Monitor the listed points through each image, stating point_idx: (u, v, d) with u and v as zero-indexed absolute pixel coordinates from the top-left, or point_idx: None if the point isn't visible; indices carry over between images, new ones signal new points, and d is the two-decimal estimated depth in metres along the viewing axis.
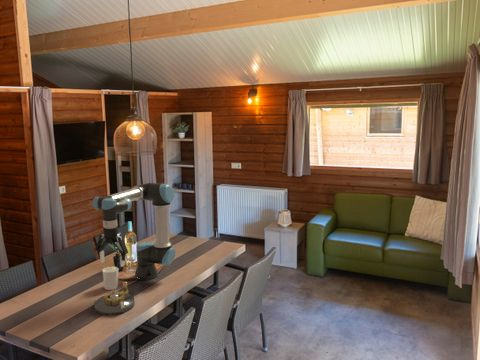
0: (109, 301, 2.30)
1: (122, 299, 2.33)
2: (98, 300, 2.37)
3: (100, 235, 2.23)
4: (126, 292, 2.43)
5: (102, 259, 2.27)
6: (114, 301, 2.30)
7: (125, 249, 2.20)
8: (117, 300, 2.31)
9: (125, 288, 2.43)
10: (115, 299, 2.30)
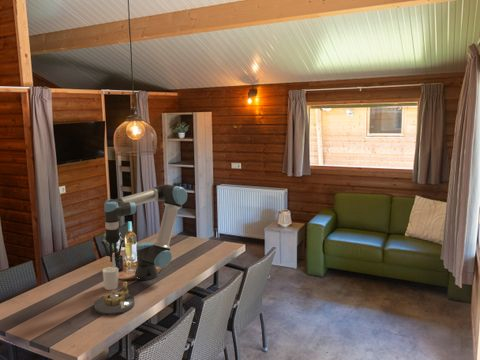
0: (109, 301, 2.30)
1: (122, 299, 2.33)
2: (98, 300, 2.37)
3: (102, 241, 2.37)
4: (126, 292, 2.43)
5: None
6: (114, 301, 2.30)
7: (120, 251, 2.41)
8: (117, 300, 2.31)
9: (125, 288, 2.43)
10: (115, 299, 2.30)
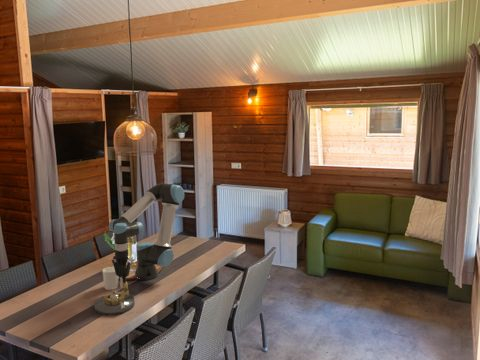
0: (109, 301, 2.30)
1: (122, 299, 2.33)
2: (98, 300, 2.37)
3: (112, 260, 2.42)
4: (126, 292, 2.43)
5: None
6: (114, 301, 2.30)
7: (128, 273, 2.41)
8: (117, 300, 2.30)
9: (125, 288, 2.43)
10: (115, 299, 2.30)
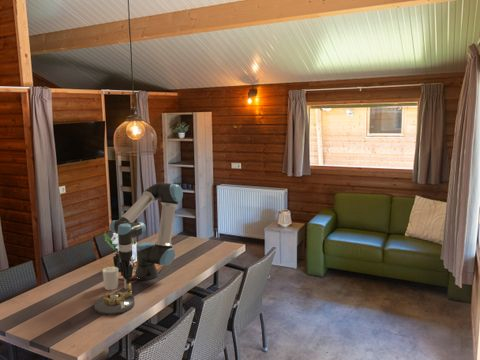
0: (106, 300, 2.30)
1: (120, 300, 2.32)
2: (98, 300, 2.37)
3: (118, 260, 2.43)
4: (129, 293, 2.41)
5: (126, 285, 2.42)
6: (110, 301, 2.30)
7: (130, 274, 2.39)
8: (113, 301, 2.30)
9: (128, 289, 2.41)
10: (112, 299, 2.30)
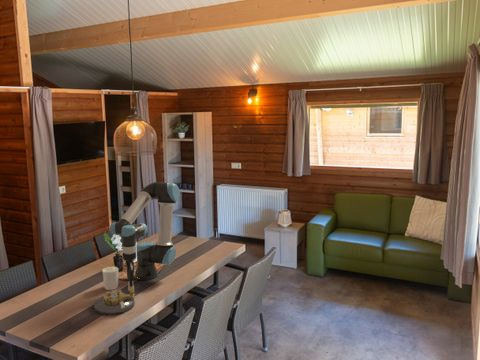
0: (104, 299, 2.32)
1: (115, 302, 2.30)
2: (98, 300, 2.37)
3: None
4: (130, 296, 2.37)
5: None
6: (106, 301, 2.30)
7: (131, 278, 2.34)
8: (109, 301, 2.30)
9: (130, 292, 2.37)
10: (107, 299, 2.30)
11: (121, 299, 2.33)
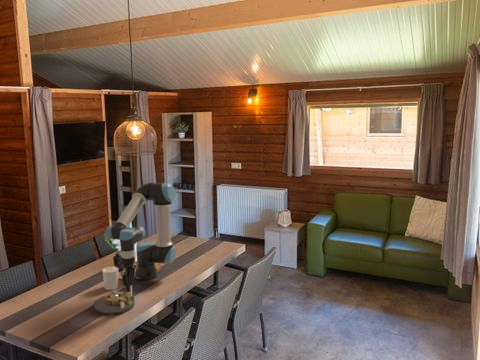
0: None
1: (108, 302, 2.30)
2: (98, 300, 2.37)
3: None
4: (125, 302, 2.31)
5: None
6: (104, 298, 2.34)
7: (125, 283, 2.27)
8: (104, 299, 2.32)
9: (126, 298, 2.31)
10: (104, 297, 2.33)
11: (114, 301, 2.30)
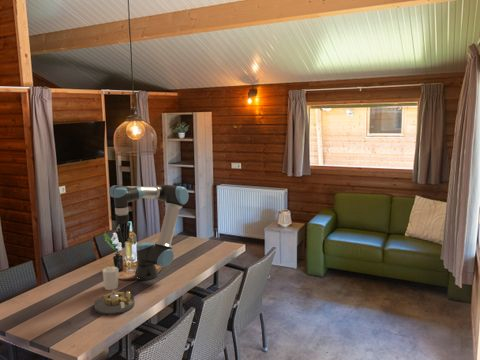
0: None
1: (108, 302, 2.30)
2: (98, 300, 2.37)
3: None
4: (125, 302, 2.31)
5: None
6: (104, 298, 2.34)
7: (119, 239, 2.37)
8: (104, 299, 2.32)
9: (126, 298, 2.31)
10: (104, 297, 2.33)
11: (114, 301, 2.30)
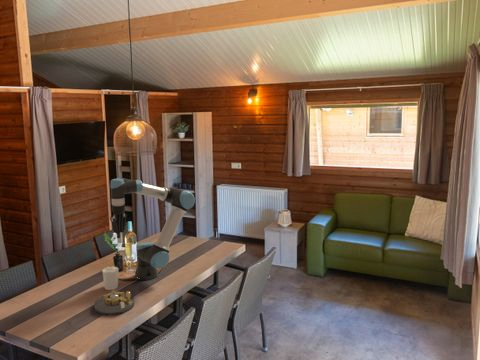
0: None
1: (108, 302, 2.30)
2: (98, 300, 2.37)
3: None
4: (125, 302, 2.31)
5: None
6: (104, 298, 2.34)
7: (114, 229, 2.43)
8: (104, 299, 2.32)
9: (126, 298, 2.31)
10: (104, 297, 2.33)
11: (114, 301, 2.30)
